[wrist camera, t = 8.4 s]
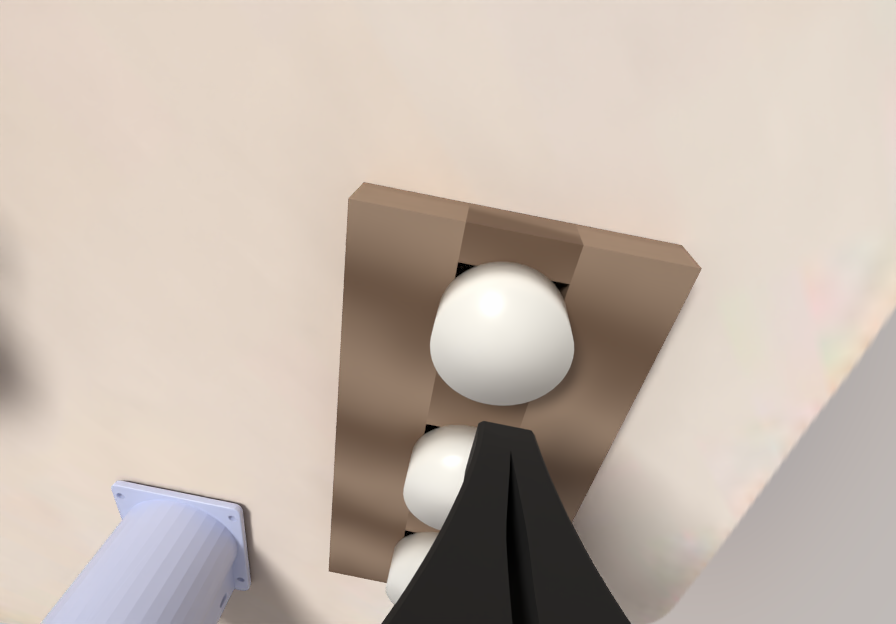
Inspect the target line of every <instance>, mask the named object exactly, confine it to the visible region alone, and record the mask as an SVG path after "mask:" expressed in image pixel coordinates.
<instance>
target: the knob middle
mask: <svg viewBox="0 0 896 624" xmlns="http://www.w3.org/2000/svg"><path fill="white" fill-rule="evenodd" d="M476 430H477V427H473V426H467V425H449V426H443V427H439V426H438V428H436V429H433V430H431V431H429V432H427V433H426V434H424V435H423V436H422V437H421V438H420V439H418V441H417V442H416V443H415V445H414V447H413V450H412V454H411V458H410V463H409V467H408V472H407V476H406V481H405V485H404V491H403V496H404V500H405V503H406V505H407V507H408V509H409V510H410V512H411V513H412V514H413V515H414V516H415V517H416V518H418V519H419V520H420V521H422V522H423V523H425V524H427V525H428V526H430V527H433V528H435V529H438V530H441V528H442V526H443V524H444V522H445V520H446V518H447V516H448V514H449V512H450V510H451V508H452V506H453V504H454V501H455V499H456V497H457V495H458V493H459V491H460V488H461V486H462V483H463V481H464V475H465V469H466V466H467V462H468V458H469V455H470V451H471V448H472V444H473V441H474V437H475V434H476Z"/></svg>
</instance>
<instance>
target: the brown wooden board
mask: <svg viewBox="0 0 896 624" xmlns="http://www.w3.org/2000/svg"><path fill="white" fill-rule="evenodd" d="M458 262H460V263H465V264H470V265H475V266H478V265H481V264H485V263H490V262H513V263H519V264H522V265H526V266H528V267H531V268H533V269H535V270H537V271H539V272H541V273H542V274H544V275H545V276H546V277H548V278H549V279H550V280H551V281H556V287H557V288H558V289H559V291H560V293H561V295H562V296H563V299H564V302H565V305H566V309H567V313H568V318H569V322H570V327H571V331H572V336H573V341H574V355H573V360H572V363H571V366H570V368H569V370H568V373H567V374H566V376H565V377H564V378H563V380H562V381H561V382H560V383H559V384H558V385H557V386H556V387H555V388H554V389H553V390H551V391H550V392H548V393H547V394H545V395H543V396H542V397H540V398H538V399H535V400H532V401H530V402H526V403H522V404H517V405H506V406H500V405H490V404H484V403H480V402H477V401H474V400H471V399H469V398H467V397H465V396H463V395H461V394H459V393H458V392H456V391H455V390H453V389H452V388H451V387H450V386H448V385H447V383H446V382H445V381H444V380H443V379H442V378H441V377H440V375H439V374H438V372H437V370H436V368H435V366H434V364H433V361H432V358H431V353H430V340H431V335H432V331H433V327H434V322H435V318H436V314H437V310H438V306H439V302H440V300H441V297H442V295H443V293H444V291H445V290H446V288H447V287H448V286H449V284H450V283H451V282H452V281H453V280H454V279H455V276H456V271H457V266H458ZM701 269H702V268H701V267H700V266H699V265H698V264H697V263H696V261H695V260H694V259H693V258H692V257H691V256H690V254H689V253H688V252H687V251H686V250H685V248H684V247H683V246H682V245H677V244H672V243H667V242H662V241H657V240H652V239H647V238H642V237H637V236H632V235H627V234H622V233H617V232H612V231H607V230H602V229H597V228H592V227H587V226H582V225H577V224H571V223H566V222H561V221H556V220H551V219H546V218H541V217H536V216H531V215H526V214H521V213H516V212H511V211H506V210H501V209H496V208H491V207H486V206H481V205H476V204H471V203H466V202H460V201H455V200H450V199H445V198H440V197H435V196H430V195H425V194H420V193H415V192H410V191H405V190H400V189H395V188H390V187H385V186H380V185H375V184H370V183H365V182H364V183H363V184H362V185H361V186H360V187H359V188H358V189H357V190H356V191H355V192H354V193H353V194H352V195H351V196H350V198H349V199H348V216H347V235H346V254H345V273H344V292H343V311H342V330H341V349H340V368H339V387H338V406H337V425H336V443H335V462H334V481H333V500H332V519H331V538H330V557H329V571H330V572H335V573H340V574H345V575H350V576H355V577H359V578H364V579H369V580H374V581H379V582H384V583H387V580H388V576H389V571H390V566H391V562H392V557H393V552H394V548H395V546H396V544H397V543H398V542H399V541H400V540H401V539H402V538H404V535H405V530H406V531H411V532H416V533H420V532H438V533H439V532H440V530H438V529H435V528H433V527H430V526H428V525H427V524H425V523H423V522H422V521H420V520H419V519H418V518H416V517H415V516H414V515H413V514H412V513H411V512H410V510H409V509H408V507H407V505H406V503H405V500H404V496H403V491H404V485H405V481H406V476H407V472H408V467H409V463H410V458H411V454H412V450H413V447H414V445H415V443H416V442H417V441H418V439H420V438H421V437H422V436H423V435H424V433H425V428H426V424H429V425H434V426H439V427H443V426H449V425H467V426H473V427H477V426H478V423H480V422H482V421H487V422H492V423H498V424H503V425H508V426H513V427H518V428H523V429H528V430H532V432H533V433H534V435H535V437H536V440H537V443H538V446H539V449H540V452H541V454H542V457H543V459H544V462H545V465H546V467H547V469H548V472H549V474H550V477H551V479H552V482H553V484H554V486H555V488H556V491H557V493H558V495H559V497H560V499H561V502H562V504H563V506H564V508H565V510H566V512H567V514H568V517H569V519H570V521H571V523H572V521H573V519H574V517H575V515H576V513H577V511H578V509H579V507H580V505H581V503H582V501H583V499H584V498H585V496H586V494H587V492H588V490H589V488H590V486H591V484H592V482H593V480H594V478H595V476H596V474H597V472H598V470H599V468H600V466H601V464H602V462H603V460H604V458H605V457H606V455H607V453H608V451H609V449H610V447H611V445H612V443H613V441H614V439H615V437H616V435H617V433H618V431H619V429H620V427H621V425H622V423H623V421H624V419H625V417H626V415H627V414H628V412H629V410H630V408H631V406H632V404H633V402H634V400H635V398H636V396H637V394H638V392H639V390H640V388H641V386H642V384H643V382H644V380H645V378H646V376H647V374H648V373H649V371H650V369H651V367H652V365H653V363H654V361H655V359H656V357H657V355H658V353H659V351H660V349H661V347H662V345H663V343H664V341H665V339H666V337H667V335H668V333H669V331H670V330H671V328H672V326H673V324H674V322H675V320H676V318H677V316H678V314H679V312H680V310H681V308H682V306H683V304H684V302H685V300H686V298H687V296H688V294H689V292H690V290H691V289H692V287H693V285H694V283H695V281H696V279H697V277H698V275H699V273H700V271H701Z"/></svg>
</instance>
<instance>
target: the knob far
mask: <svg viewBox="0 0 896 624" xmlns="http://www.w3.org/2000/svg"><path fill="white" fill-rule="evenodd" d="M437 535H438V532H420V533H416V532H415V533H414V534H411V535H408V536H406V537H404V538H402V539H401V540H400V541H399V542H398V543H397V544H396V546H395V548H394V552H393V557H392V562H391V566H390V571H389V576H388V580H387V585H386V593H387V596H388V598H389V599H390V601H391V602H392V603H393V604H394V605H395V604H396V602H397V601H398V599H399V598H400V596H401V595H402V593H403V592H404V590H405V589H406V587H407V586H408V584H409V583H410V581H411V579H412V578H413V576H414V574H415V573H416V571H417V570H418V568H419V566H420V565H421V563H422V561H423V560H424V558H425V557H426V555H427V553H428V551H429V550H430V548H431V546H432V544H433V543H434V541H435V539H436V537H437Z"/></svg>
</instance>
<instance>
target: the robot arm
mask: <svg viewBox="0 0 896 624" xmlns="http://www.w3.org/2000/svg"><path fill="white" fill-rule="evenodd" d="M111 489H112V492H113V495H114V498H115V501H116V504H117V507H118V510H119V512H120V515H121V518H122V521H121V522H120V523H119V525H118V526H117V527H116V529H115V530H114V531H113V532H112V534H111V535H110V536H109V537H108V539H107V540H106V541H105V542H104V544H103V545H102V546H101V547H100V549H99V550H98V551H97V553H96V554H95V555H94V556H93V558H92V559H91V560H90V561H89V563H88V564H87V565H86V566H85V568H84V569H83V570H82V571H81V573H80V574H79V575H78V577H77V578H76V579H75V580H74V582H73V583H72V584H71V585H70V587H69V588H68V589H67V590H66V592H65V593H64V594H63V595H62V597H61V598H60V599H59V601H58V602H57V603H56V604H55V606H54V607H53V608H52V609H51V611H50V612H49V613H48V614H47V616H46V617H45V618H44V620H43V621H42V622H41V623H40V624H217V623H218V621H219V619H220V617H221V615H222V613H223V611H224V609H225V606H226V604H227V602H228V600H229V598H230V596H231V594H232V592H233V590H234V589H237V590H243V591H246V590H248V589H249V587H250V585H251V578H250V569H249V561H248V552H247V543H246V534H245V525H244V517H243V510H242V507H241V506H239V505H238V504H235V503H230V502H225V501H220V500H215V499H210V498H205V497H200V496H195V495H190V494H185V493H181V492H176V491H171V490H166V489H161V488H156V487H151V486H146V485H141V484H136V483H131V482H126V481H116V482H115V483H114V484H113V485H112V487H111ZM382 624H631V623H630V622H629V620H628V619H627V617H626V616H625V614H624V612H623V611H622V609H621V608H620V606H619V605H618V603H617V602H616V600H615V599H614V597H613V595H612V594H611V592H610V591H609V589H608V587H607V586H606V584H605V582H604V581H603V579H602V577H601V576H600V574H599V573H598V571H597V569H596V567H595V566H594V564H593V562H592V560H591V559H590V557H589V555H588V553H587V551H586V550H585V548H584V546H583V544H582V542H581V540H580V538H579V536H578V534H577V532H576V531H575V529H574V527H573V525H572V523H571V521H570V519H569V517H568V514H567V512H566V510H565V508H564V506H563V504H562V502H561V499H560V497H559V495H558V493H557V491H556V488H555V486H554V484H553V482H552V479H551V477H550V474H549V472H548V469H547V467H546V465H545V462H544V459H543V457H542V454H541V452H540V449H539V446H538V443H537V440H536V437H535V435H534V433H533V432H532V430H528V429H523V428H518V427H513V426H508V425H503V424H498V423H492V422H487V421H482V422H480V423H478V426H477V430H476V434H475V437H474V441H473V444H472V448H471V451H470V455H469V458H468V462H467V466H466V469H465V475H464V481H463V483H462V486H461V488H460V491H459V493H458V495H457V497H456V499H455V501H454V504H453V506H452V508H451V510H450V512H449V514H448V516H447V518H446V520H445V522H444V524H443V526H442V528H441V530H440V532H439V533H438V535H437V537H436V539H435V541H434V543H433V544H432V546H431V548H430V550H429V551H428V553H427V555H426V557H425V558H424V560H423V561H422V563H421V565H420V566H419V568H418V570H417V571H416V573H415V574H414V576H413V578H412V579H411V581H410V583H409V584H408V586H407V587H406V589H405V590H404V592H403V593H402V595H401V596H400V598H399V599H398V601H397V602H396V604H395V605H394V607H393V608H392V609H391V611H390V612H389V614H388V615H387V617H386V618H385V619H384V621H383V622H382Z"/></svg>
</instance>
